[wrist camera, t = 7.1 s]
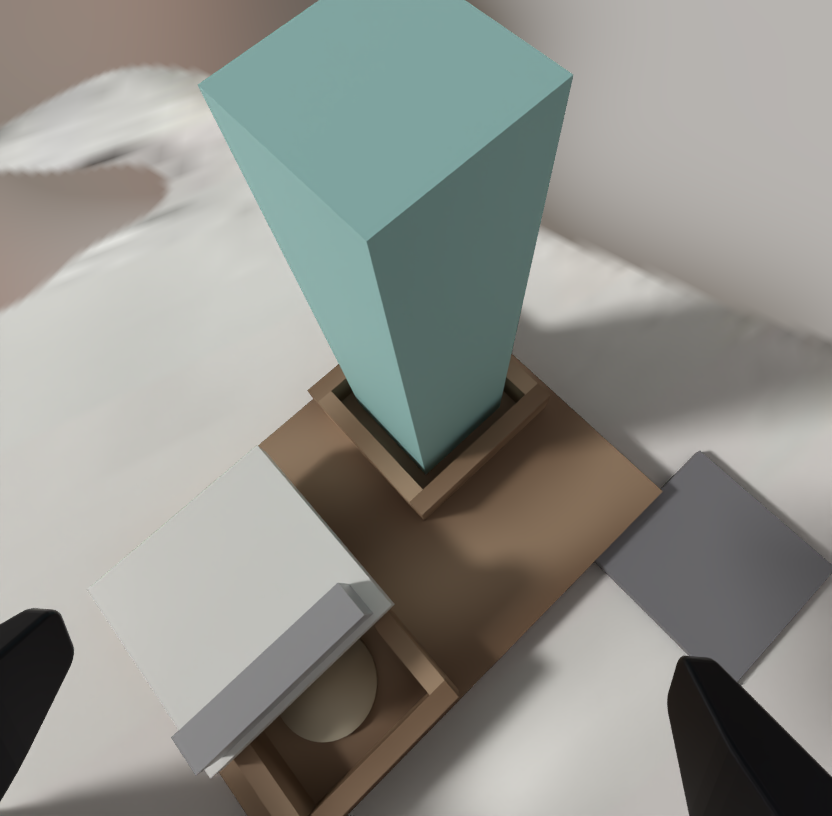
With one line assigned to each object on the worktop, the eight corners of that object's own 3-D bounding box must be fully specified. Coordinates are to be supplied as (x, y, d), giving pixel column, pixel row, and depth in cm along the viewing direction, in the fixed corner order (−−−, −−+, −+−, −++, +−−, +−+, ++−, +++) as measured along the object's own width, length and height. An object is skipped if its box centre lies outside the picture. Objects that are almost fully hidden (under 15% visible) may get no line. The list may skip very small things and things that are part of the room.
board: (653, 495, 22) (677, 483, 19) (296, 862, 19) (272, 900, 16) (442, 301, 25) (440, 270, 23) (110, 584, 22) (68, 583, 20)
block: (499, 406, 22) (573, 75, 8) (425, 474, 22) (366, 241, 7) (431, 341, 23) (391, -51, 9) (359, 404, 23) (197, 84, 9)
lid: (395, 604, 19) (384, 605, 16) (223, 769, 17) (181, 799, 15) (266, 451, 21) (238, 430, 18) (104, 589, 19) (49, 588, 17)
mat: (828, 568, 20) (835, 568, 20) (723, 690, 19) (728, 691, 19) (695, 453, 22) (699, 450, 22) (592, 559, 21) (594, 558, 21)
